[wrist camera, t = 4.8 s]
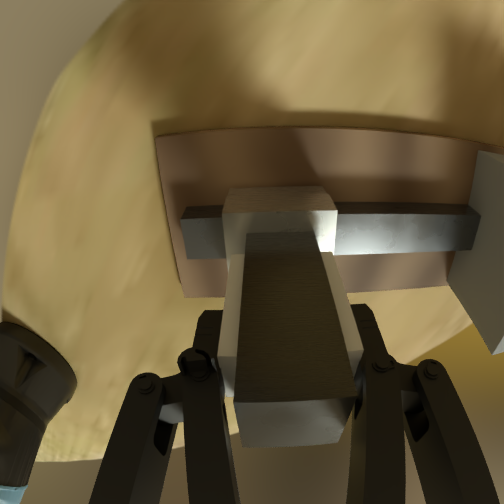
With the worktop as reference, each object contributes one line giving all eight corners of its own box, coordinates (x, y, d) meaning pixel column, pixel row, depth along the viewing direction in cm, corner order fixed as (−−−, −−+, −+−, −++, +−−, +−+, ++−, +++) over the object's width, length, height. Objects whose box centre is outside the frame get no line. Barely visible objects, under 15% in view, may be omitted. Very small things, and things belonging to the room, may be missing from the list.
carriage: (236, 262, 23) (215, 456, 11) (229, 184, 20) (183, 377, 8) (318, 260, 23) (360, 449, 11) (322, 182, 20) (406, 366, 7)
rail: (192, 244, 23) (187, 259, 21) (186, 206, 21) (180, 219, 19) (459, 237, 22) (471, 250, 20) (468, 204, 20) (481, 215, 18)
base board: (186, 291, 26) (184, 297, 25) (158, 135, 19) (154, 137, 18) (498, 275, 25) (502, 279, 24) (532, 154, 18) (537, 157, 17)
